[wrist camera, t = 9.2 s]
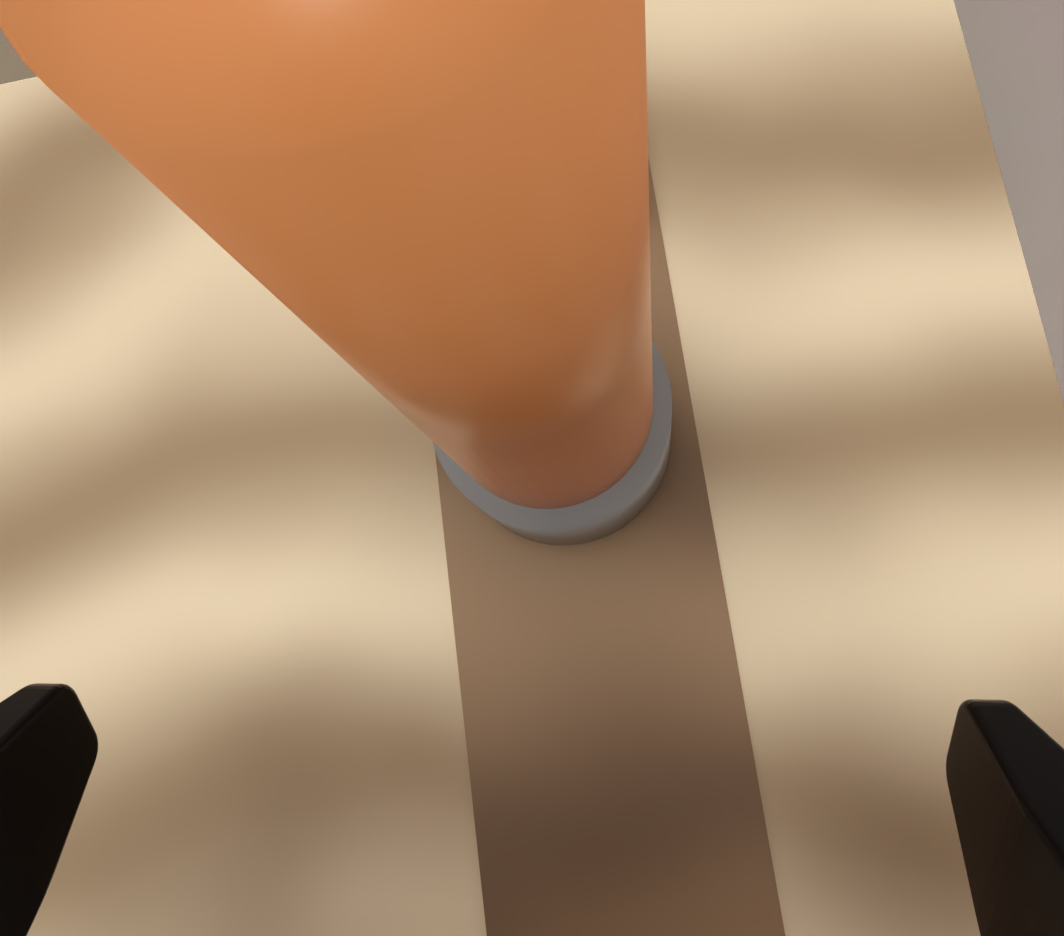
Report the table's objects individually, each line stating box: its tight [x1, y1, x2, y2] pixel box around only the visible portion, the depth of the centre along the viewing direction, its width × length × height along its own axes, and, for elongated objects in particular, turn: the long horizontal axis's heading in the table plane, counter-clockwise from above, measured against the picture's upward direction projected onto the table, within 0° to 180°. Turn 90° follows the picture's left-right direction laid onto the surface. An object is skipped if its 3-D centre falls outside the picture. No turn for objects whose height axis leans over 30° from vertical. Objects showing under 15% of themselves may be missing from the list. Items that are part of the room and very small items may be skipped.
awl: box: [0, 0, 672, 545], centre depth 11 cm, size 4×4×13 cm
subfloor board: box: [0, 0, 1064, 936], centre depth 18 cm, size 21×24×2 cm
